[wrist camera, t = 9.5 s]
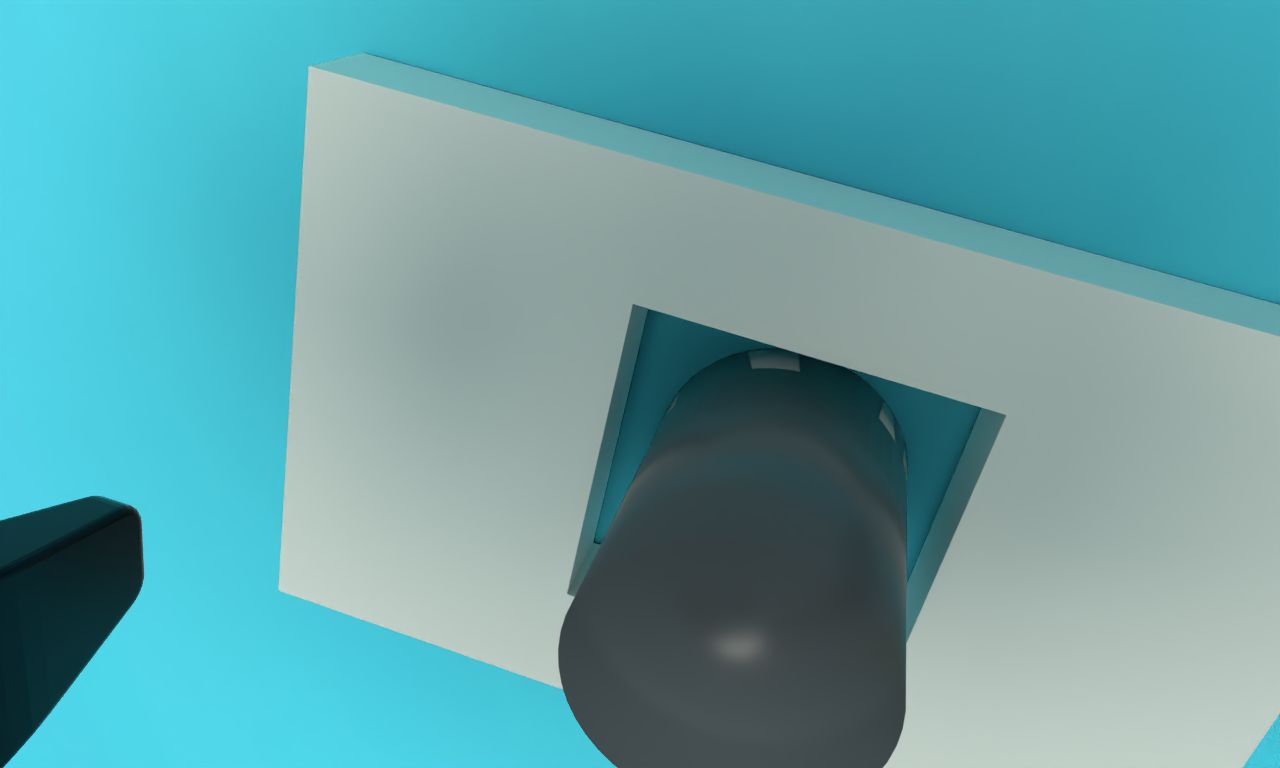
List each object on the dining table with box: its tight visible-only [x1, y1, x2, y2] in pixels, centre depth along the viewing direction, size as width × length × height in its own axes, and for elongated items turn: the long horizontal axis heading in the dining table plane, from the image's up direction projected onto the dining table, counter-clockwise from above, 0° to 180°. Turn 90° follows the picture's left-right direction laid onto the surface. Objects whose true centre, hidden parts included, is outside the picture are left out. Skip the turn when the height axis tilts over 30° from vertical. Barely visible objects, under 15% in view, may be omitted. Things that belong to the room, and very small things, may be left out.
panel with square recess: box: [279, 53, 1280, 768], centre depth 20 cm, size 20×12×2 cm, turn 78°
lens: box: [558, 348, 907, 768], centre depth 18 cm, size 5×5×7 cm
